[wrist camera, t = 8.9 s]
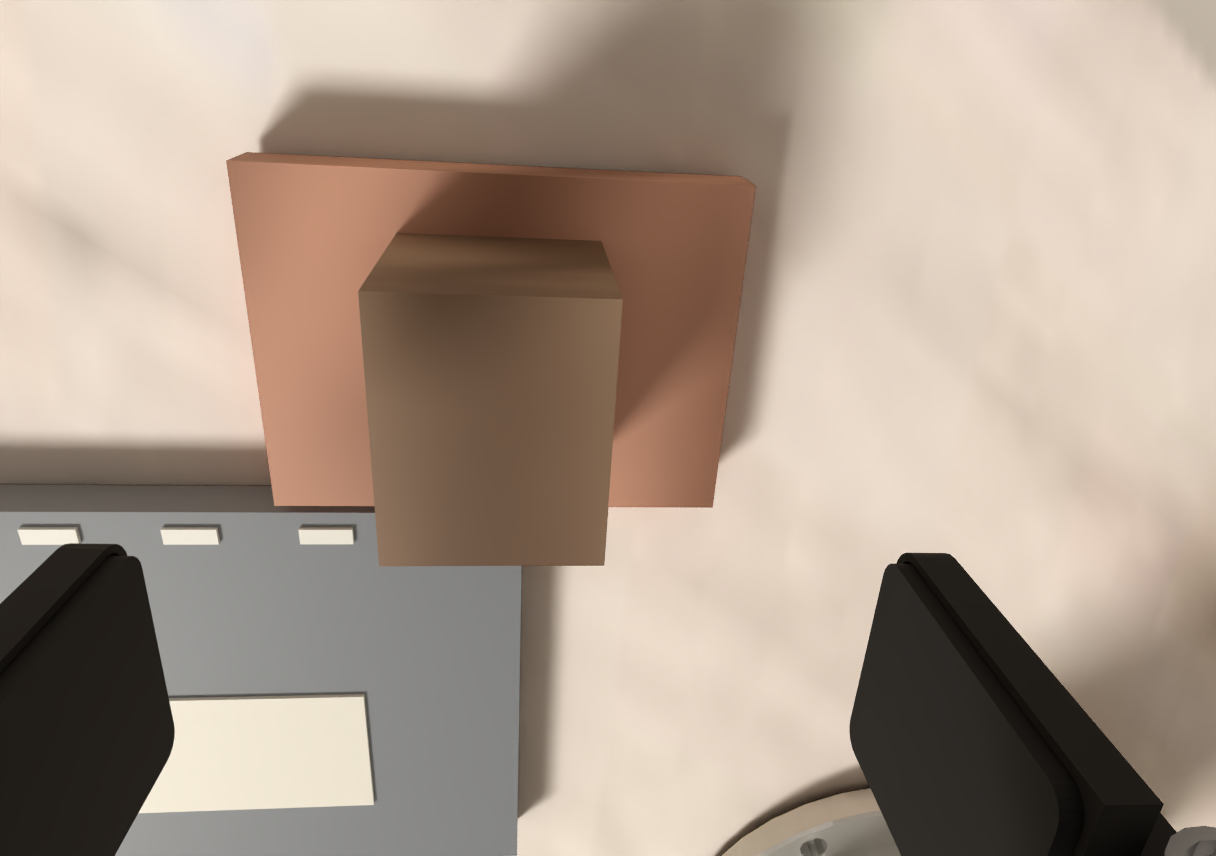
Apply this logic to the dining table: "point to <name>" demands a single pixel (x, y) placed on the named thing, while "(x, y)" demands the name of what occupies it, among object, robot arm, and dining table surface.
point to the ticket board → (304, 674)
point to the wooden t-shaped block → (489, 345)
